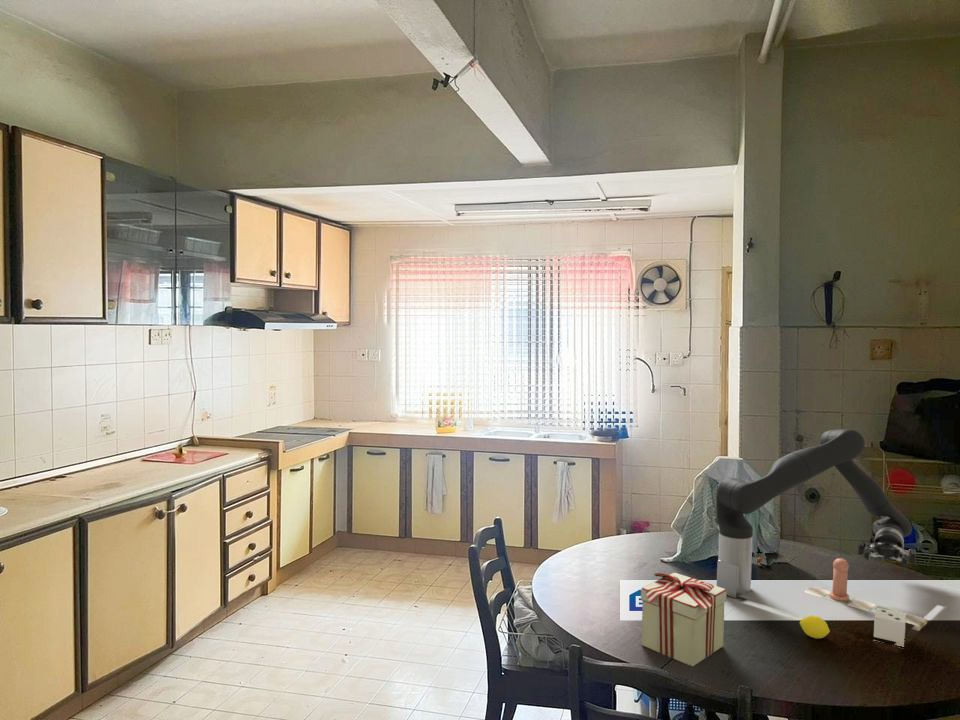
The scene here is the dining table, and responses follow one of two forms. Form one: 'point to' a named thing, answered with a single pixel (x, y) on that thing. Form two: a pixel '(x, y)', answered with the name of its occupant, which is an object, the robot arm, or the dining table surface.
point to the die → (890, 626)
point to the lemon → (814, 627)
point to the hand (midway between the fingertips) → (885, 559)
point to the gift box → (683, 617)
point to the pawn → (840, 580)
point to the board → (867, 607)
